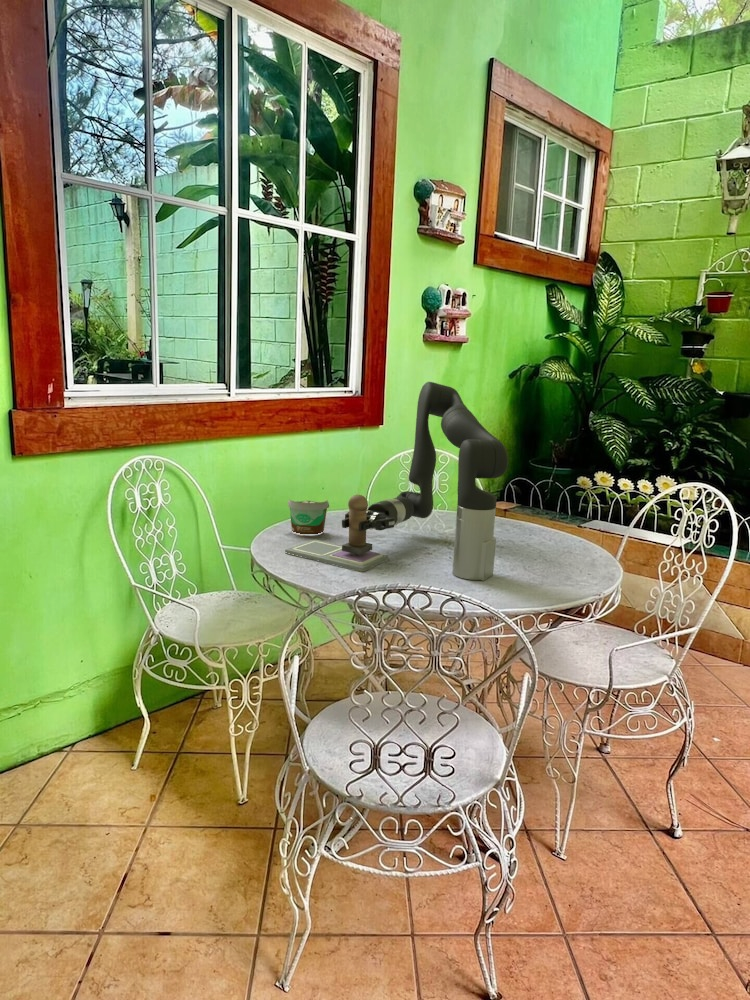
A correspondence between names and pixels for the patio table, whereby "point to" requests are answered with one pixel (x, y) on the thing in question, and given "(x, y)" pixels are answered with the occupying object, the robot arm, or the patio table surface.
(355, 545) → the stamp
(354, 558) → the stamping board
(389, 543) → the patio table surface
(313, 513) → the food container
